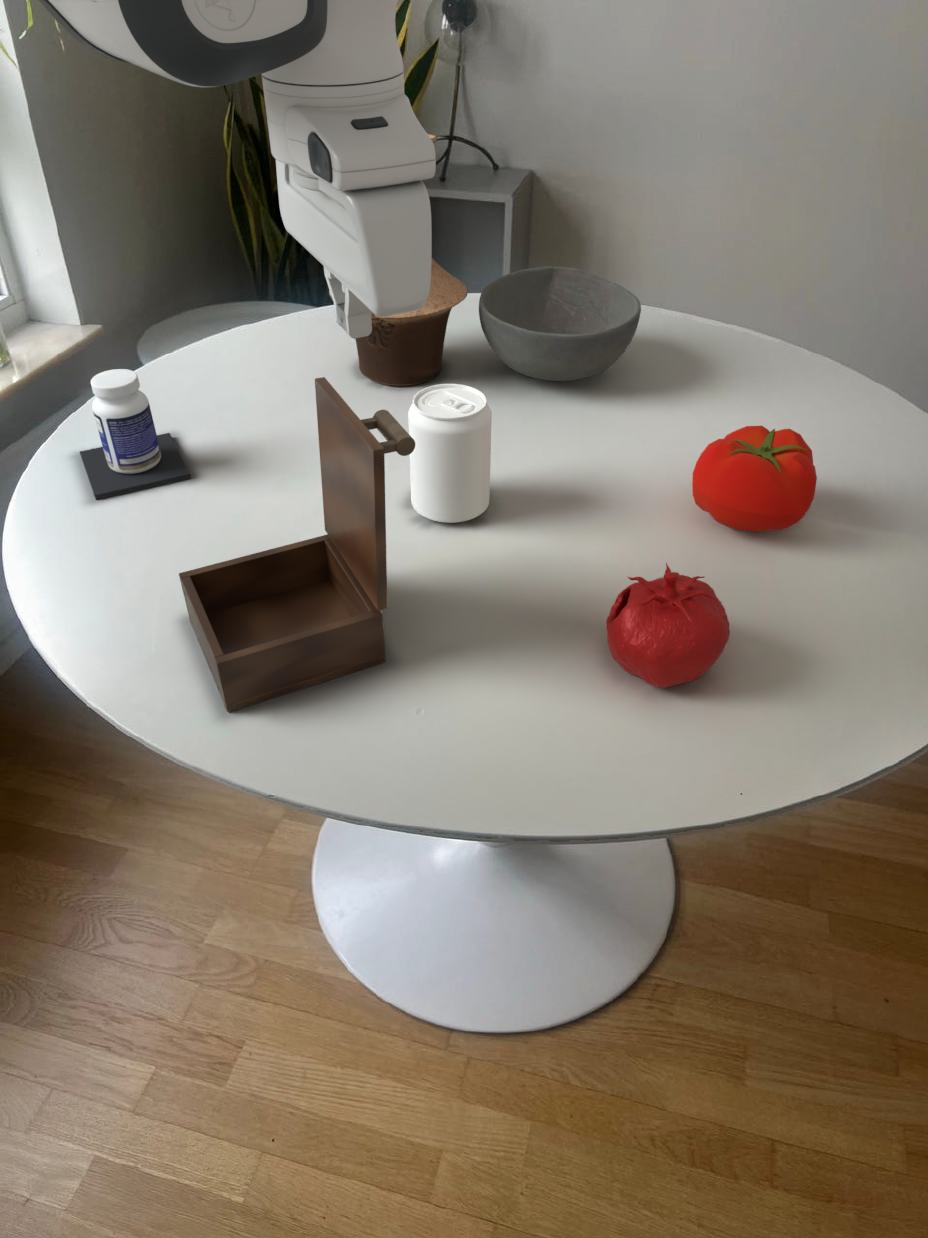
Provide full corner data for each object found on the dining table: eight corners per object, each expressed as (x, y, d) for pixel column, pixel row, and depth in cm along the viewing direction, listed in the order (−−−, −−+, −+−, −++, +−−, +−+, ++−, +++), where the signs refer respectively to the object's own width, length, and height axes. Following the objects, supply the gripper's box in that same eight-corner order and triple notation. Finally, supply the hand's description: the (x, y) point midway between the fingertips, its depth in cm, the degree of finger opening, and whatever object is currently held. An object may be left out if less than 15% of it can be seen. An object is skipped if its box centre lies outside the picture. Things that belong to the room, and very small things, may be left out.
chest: (227, 712, 74) (216, 663, 71) (189, 620, 83) (178, 573, 79) (386, 662, 79) (382, 614, 75) (334, 580, 87) (329, 533, 84)
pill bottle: (172, 454, 104) (153, 370, 97) (143, 479, 99) (121, 394, 93) (127, 445, 105) (106, 362, 99) (97, 470, 101) (72, 385, 94)
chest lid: (373, 450, 66) (437, 437, 67) (314, 378, 74) (372, 368, 76) (377, 611, 75) (433, 596, 77) (324, 530, 83) (376, 518, 85)
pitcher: (433, 410, 113) (429, 161, 95) (310, 386, 118) (283, 144, 100) (485, 353, 126) (490, 123, 107) (371, 333, 130) (358, 109, 112)
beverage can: (442, 477, 101) (441, 373, 94) (504, 501, 98) (508, 395, 90) (395, 510, 96) (390, 404, 89) (458, 536, 93) (459, 428, 85)
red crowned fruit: (745, 670, 78) (769, 583, 72) (655, 717, 74) (673, 628, 68) (664, 607, 84) (681, 522, 78) (577, 646, 80) (588, 559, 74)
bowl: (452, 389, 117) (452, 311, 111) (509, 329, 132) (512, 257, 125) (607, 419, 111) (616, 339, 105) (649, 353, 126) (659, 279, 119)
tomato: (737, 564, 90) (756, 488, 84) (663, 499, 98) (675, 427, 93) (839, 532, 94) (863, 458, 88) (759, 473, 102) (777, 402, 97)
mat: (95, 500, 97) (94, 495, 97) (80, 456, 104) (79, 451, 104) (191, 478, 101) (190, 473, 100) (170, 437, 108) (169, 432, 107)
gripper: (243, 95, 66) (270, 289, 75) (346, 168, 52) (364, 395, 61) (328, 87, 68) (344, 276, 77) (448, 154, 54) (451, 376, 63)
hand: (354, 330), depth 69 cm, fingers closed
